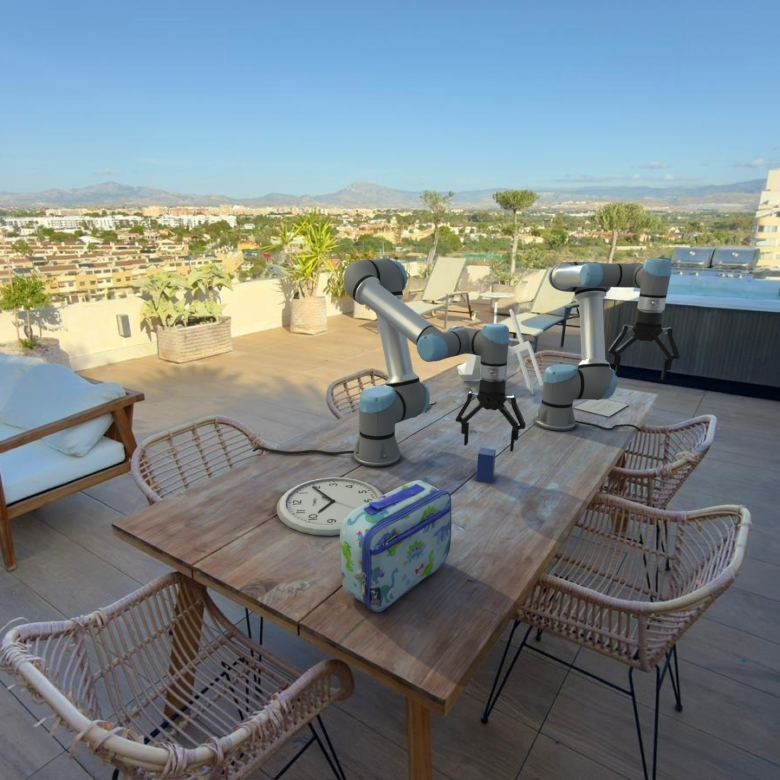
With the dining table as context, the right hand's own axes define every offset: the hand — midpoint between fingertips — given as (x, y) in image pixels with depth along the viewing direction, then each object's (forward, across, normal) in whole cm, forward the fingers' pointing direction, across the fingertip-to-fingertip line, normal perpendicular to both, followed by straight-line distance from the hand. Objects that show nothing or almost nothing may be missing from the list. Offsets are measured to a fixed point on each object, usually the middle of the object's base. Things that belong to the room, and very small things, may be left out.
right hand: (639, 377), depth 167 cm
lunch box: (+28, -53, -87) cm, 106 cm away
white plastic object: (+28, -52, +66) cm, 89 cm away
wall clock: (+28, -80, -62) cm, 105 cm away
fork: (+28, -75, +28) cm, 85 cm away
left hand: (+18, -42, -31) cm, 55 cm away
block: (+28, -42, -31) cm, 60 cm away
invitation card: (+28, -5, +54) cm, 62 cm away
